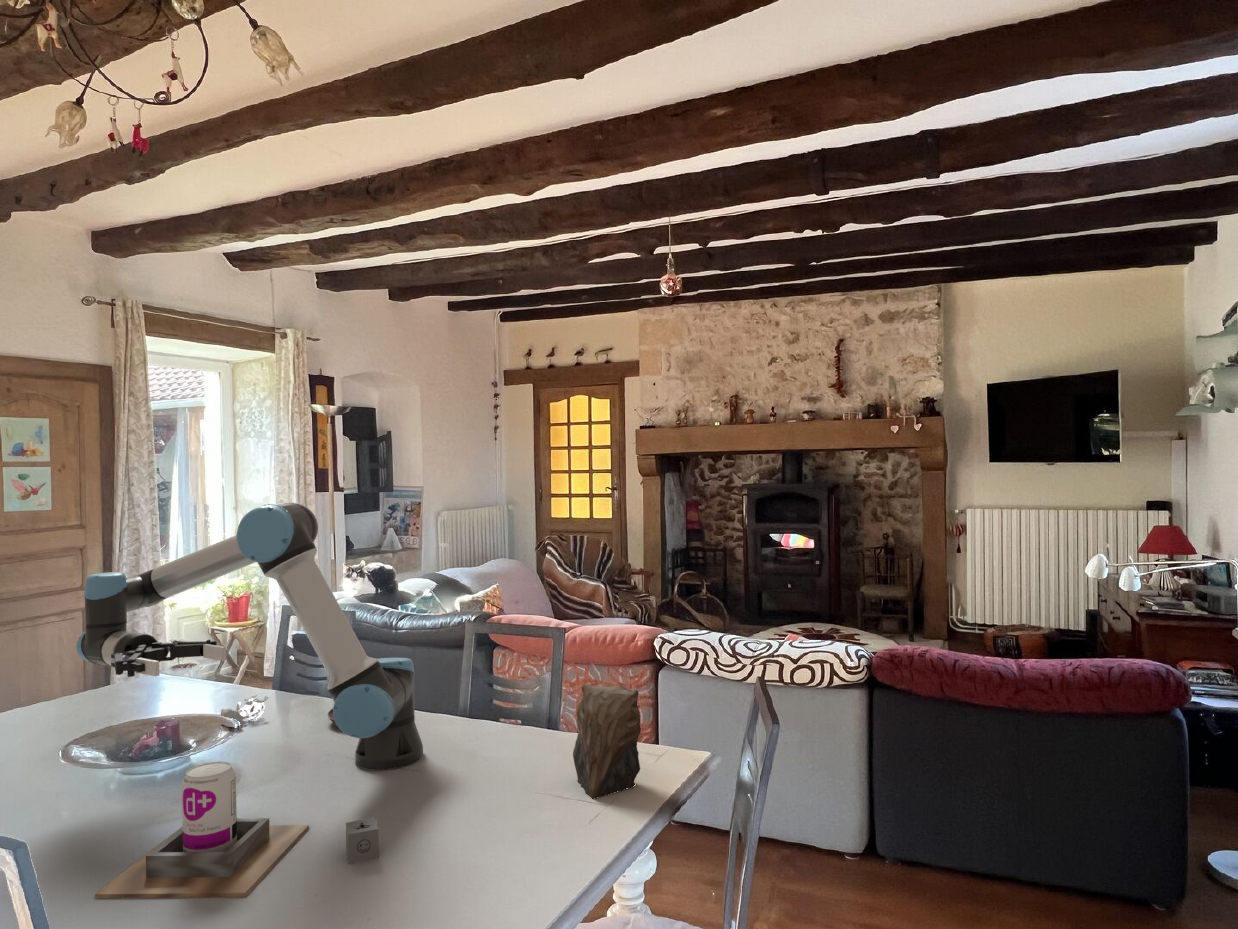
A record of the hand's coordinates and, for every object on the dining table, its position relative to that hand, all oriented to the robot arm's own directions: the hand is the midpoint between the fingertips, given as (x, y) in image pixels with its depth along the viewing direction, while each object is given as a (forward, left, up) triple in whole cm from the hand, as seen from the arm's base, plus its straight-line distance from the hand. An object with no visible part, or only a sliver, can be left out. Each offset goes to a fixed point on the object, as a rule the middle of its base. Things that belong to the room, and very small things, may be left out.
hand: (192, 661), depth 156 cm
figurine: (+19, -59, -30) cm, 69 cm away
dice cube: (-39, +17, -30) cm, 52 cm away
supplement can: (-13, +18, -30) cm, 37 cm away
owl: (-79, -12, -30) cm, 85 cm away
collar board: (-13, +18, -31) cm, 38 cm away
